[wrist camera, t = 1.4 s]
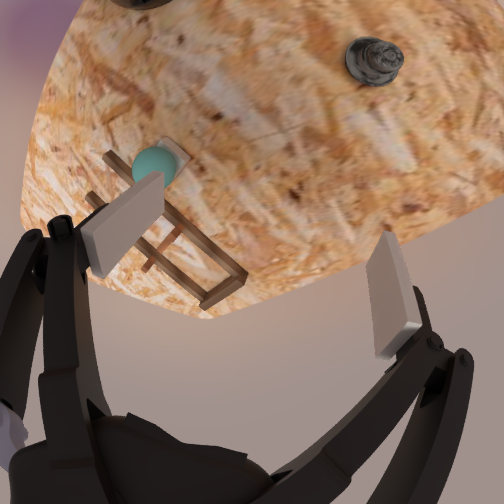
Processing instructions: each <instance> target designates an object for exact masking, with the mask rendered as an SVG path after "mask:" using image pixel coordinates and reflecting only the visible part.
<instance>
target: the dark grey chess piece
mask: <svg viewBox="0 0 504 504" xmlns="http://www.w3.org/2000/svg"><path fill="white" fill-rule="evenodd" d="M403 62H404V56H403V53H402V51H401V50H400V49H399V48H398V47H397V46H396V45H395V44H393V43H391V42H386V41H382V40H380V39H378V38H374V37H361V38H358V39H356V40H355V41H353V42H352V43H351V44H350V45H349V47H348V48H347V52H346V57H345V63H346V67H347V69H348V71H349V73H350V74H351V75H352V76H353V77H354V78H356V79H357V80H358V81H360V82H362V83H364V84H366V85H369V86H375V87H378V86H384V85H387V84H389V83H391V82H392V81H393V80H394V79H395V78H396V76H397V74H398V71H399V69H400V68H401V66H402V65H403Z"/></svg>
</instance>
